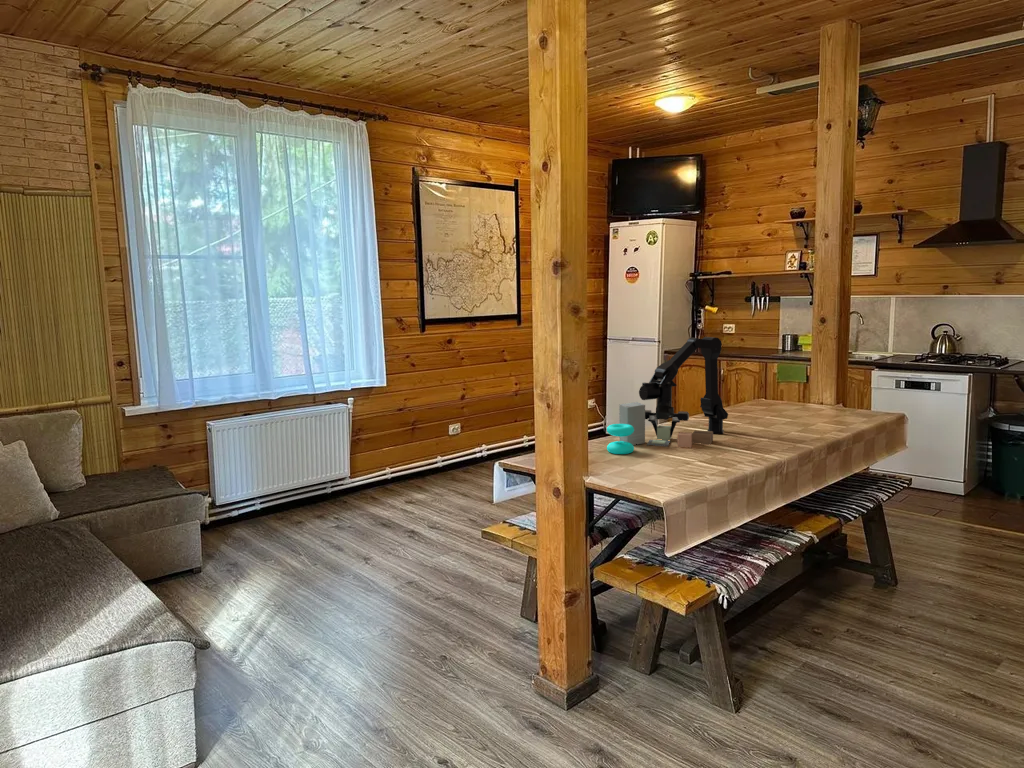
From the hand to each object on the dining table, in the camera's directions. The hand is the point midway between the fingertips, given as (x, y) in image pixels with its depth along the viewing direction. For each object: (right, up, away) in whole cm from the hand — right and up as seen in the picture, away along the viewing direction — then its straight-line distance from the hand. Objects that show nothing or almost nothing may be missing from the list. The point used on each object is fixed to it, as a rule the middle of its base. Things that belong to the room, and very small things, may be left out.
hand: (664, 436), depth 283 cm
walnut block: (+14, -2, -6) cm, 15 cm away
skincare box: (-14, -2, -7) cm, 16 cm away
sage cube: (0, -1, 0) cm, 1 cm away
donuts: (-21, -4, -20) cm, 29 cm away
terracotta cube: (+5, -3, -13) cm, 14 cm away
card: (-4, -2, -8) cm, 9 cm away
